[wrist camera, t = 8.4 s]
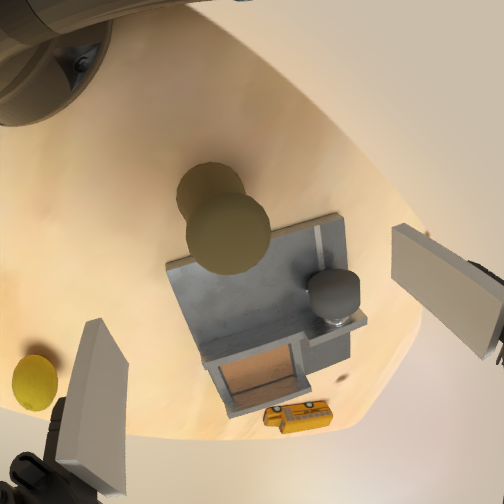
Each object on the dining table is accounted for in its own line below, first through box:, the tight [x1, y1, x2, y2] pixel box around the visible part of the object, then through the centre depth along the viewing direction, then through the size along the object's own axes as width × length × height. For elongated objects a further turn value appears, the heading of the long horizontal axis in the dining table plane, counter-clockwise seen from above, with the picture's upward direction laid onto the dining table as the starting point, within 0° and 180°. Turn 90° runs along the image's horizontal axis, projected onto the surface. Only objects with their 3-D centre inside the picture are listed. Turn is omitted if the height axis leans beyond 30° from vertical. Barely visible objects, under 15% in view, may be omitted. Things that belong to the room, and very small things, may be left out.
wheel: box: [308, 269, 360, 320], centre depth 30 cm, size 3×5×5 cm, turn 102°
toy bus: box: [263, 402, 333, 434], centre depth 42 cm, size 3×10×4 cm, turn 80°
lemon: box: [12, 355, 58, 411], centre depth 26 cm, size 6×6×8 cm
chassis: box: [166, 213, 367, 419], centre depth 32 cm, size 20×18×6 cm
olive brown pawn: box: [176, 162, 271, 275], centre depth 23 cm, size 6×6×11 cm
